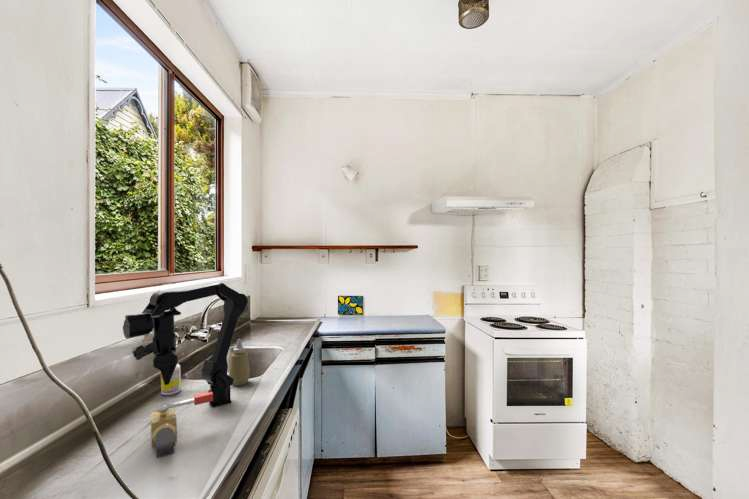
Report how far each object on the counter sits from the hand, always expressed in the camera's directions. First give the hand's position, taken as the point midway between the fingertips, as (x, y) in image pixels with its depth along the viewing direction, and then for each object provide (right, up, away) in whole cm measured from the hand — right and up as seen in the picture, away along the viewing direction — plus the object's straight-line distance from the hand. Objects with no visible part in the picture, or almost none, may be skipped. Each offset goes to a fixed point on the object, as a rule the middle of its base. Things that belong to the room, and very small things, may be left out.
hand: (166, 380), depth 110 cm
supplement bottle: (-13, -14, +24) cm, 31 cm away
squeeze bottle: (+11, -14, +32) cm, 36 cm away
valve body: (+6, -13, -11) cm, 18 cm away
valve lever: (+10, -5, -7) cm, 13 cm away
